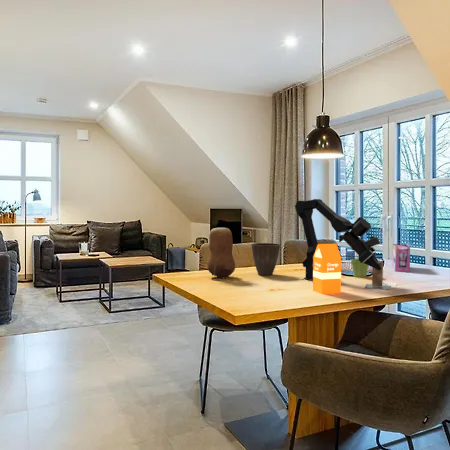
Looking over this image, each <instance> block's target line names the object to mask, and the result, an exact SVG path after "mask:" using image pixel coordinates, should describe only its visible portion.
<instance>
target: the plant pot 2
mask: <svg viewBox="0 0 450 450" xmlns="http://www.w3.org/2000/svg"><path fill="white" fill-rule="evenodd" d="M350 262H351V265H352V266H351V267H352V274H353V278H358V279H359V278H360V279H361V278H367V274H368V269H369V268H368V267H369V265H366V264H364V263H363V262H365V261H363V262H362V263H361V262H360V261H359V260H358V258H355V259H354V258H353V259H350Z"/></svg>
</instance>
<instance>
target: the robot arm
mask: <svg viewBox="0 0 450 450" xmlns="http://www.w3.org/2000/svg"><path fill="white" fill-rule="evenodd" d="M294 209H295V212H296V214H297V216H298V217H299V218H300V219H301V222H302V226H303V231H304V232H303V233H304V235H305V236H304V237H305V240H306V245H307V249H306V258H305V259H304V261H303V262H302V267H303V268H305V277H303V280H308V281H312V282H313V256H314V254H315V251H316V248H317V246H318V244H319V242H318V239H317V235H316V231H315V226H314V222H313V218H312V217H313V212H314V210H317V212H319V213H320V214H321V215H322V216H323V217H324V218H326V220H327V221H328V222H329V223H330V225H331V227H332V228H333V230H334V231H335V232H336V233H343V234H340V235H338V237H339V239H338V242H339V243H341V242H342V241H344V242H345V243H346V244H347V245H348V246H349V247H350V248H351V250H352V251H354V252H355V254H357V255H358V258H357V259H358V260H359V261H360V262H361V263H362V262H363V261H365V262H363V263H364V264H366V265H368V267H371V268H375V269H378V270H381V267H380V266H379V264H378V263H377V262H380V261H379V259H378V258H377V256H376V255H377V251H376V248H374V246H378V245H380V244H381V241H380V238H379V237H378V236H374V235H372V236H370V237H369V239H368V240H364V239H362V238H360V237H363V236H364V235H365V234H366V233H367V232H368V231H369V230H370V229H371V228H372V225H371V223H370V222H368V221H367V220H366V219H364V218H363V217H361V216H359V217H357V219H356V220H355V221H354V222H353V223H352V222H351V221H350V220H349V219H348V218H345V217H343V216H341V215H339V214H337V212H336V211H334V210H333V209H332V208H331V207H329V206H328V205H327V204H326V203H325V202H324V201H323V200H322V199H321V198H320V199H319V198H313V199H310V200H298V201H296V203H295V205H294Z"/></svg>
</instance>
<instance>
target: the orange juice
mask: <svg viewBox="0 0 450 450" xmlns="http://www.w3.org/2000/svg"><path fill="white" fill-rule="evenodd" d="M341 282H342V257H341V254H340V251H339V248H338V245H337V243H318V246H317V248H316V251H315V254H314V256H313V281H312V291H313V292H315V293H318V294H321V295H329V294H330V293H331V294H341V292H342V290H341V289H342V286H341V285H342V283H341Z"/></svg>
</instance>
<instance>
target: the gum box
mask: <svg viewBox="0 0 450 450" xmlns="http://www.w3.org/2000/svg"><path fill="white" fill-rule="evenodd" d="M391 265H392V268H393V270H394V272H399V273H400V272H402V273H403V272H404V273H405V272H407V273H410V272H411V270H410V269H411V246H409V245H407V244H397V243H395V244H394V243H393V244H392V263H391Z"/></svg>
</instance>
